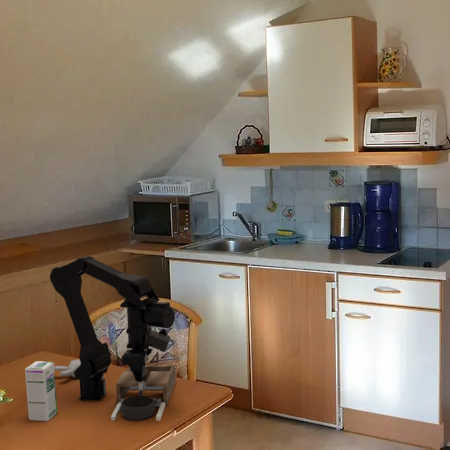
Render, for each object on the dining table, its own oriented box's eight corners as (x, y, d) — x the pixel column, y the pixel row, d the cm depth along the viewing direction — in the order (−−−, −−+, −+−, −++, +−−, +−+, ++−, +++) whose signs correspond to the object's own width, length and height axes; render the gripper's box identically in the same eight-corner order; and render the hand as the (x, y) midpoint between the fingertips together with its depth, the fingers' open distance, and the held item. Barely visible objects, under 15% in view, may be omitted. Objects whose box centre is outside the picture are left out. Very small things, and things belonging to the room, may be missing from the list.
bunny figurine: (109, 363, 215) (63, 367, 206) (108, 379, 215) (62, 384, 207) (97, 355, 222) (52, 359, 214) (96, 371, 223) (51, 375, 214)
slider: (120, 408, 188) (118, 368, 187) (122, 403, 191) (121, 364, 190) (160, 408, 187) (159, 368, 186) (162, 403, 191) (160, 364, 189)
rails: (111, 420, 181) (110, 416, 181) (118, 405, 191) (118, 402, 190) (160, 420, 180) (159, 416, 180) (165, 405, 190) (165, 402, 190)
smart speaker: (133, 406, 190) (132, 392, 190) (160, 411, 186) (160, 397, 186) (114, 418, 182) (114, 404, 182) (143, 424, 178) (142, 409, 178)
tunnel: (117, 405, 191) (116, 383, 190) (129, 381, 209) (129, 361, 209) (167, 405, 190) (166, 383, 189) (175, 381, 209) (174, 361, 208)
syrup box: (48, 421, 181) (45, 368, 179) (27, 420, 182) (24, 367, 180) (57, 413, 186) (55, 361, 184) (37, 411, 188) (34, 360, 186)
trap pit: (128, 390, 202) (128, 389, 202) (132, 382, 208) (132, 381, 208) (169, 390, 201) (168, 389, 201) (171, 382, 208) (171, 381, 208)
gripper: (162, 333, 176) (164, 391, 179) (172, 314, 195) (173, 367, 197) (119, 333, 177) (122, 391, 179) (133, 314, 196) (135, 367, 198)
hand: (140, 379), depth 188 cm, fingers closed on slider, 3 cm apart
